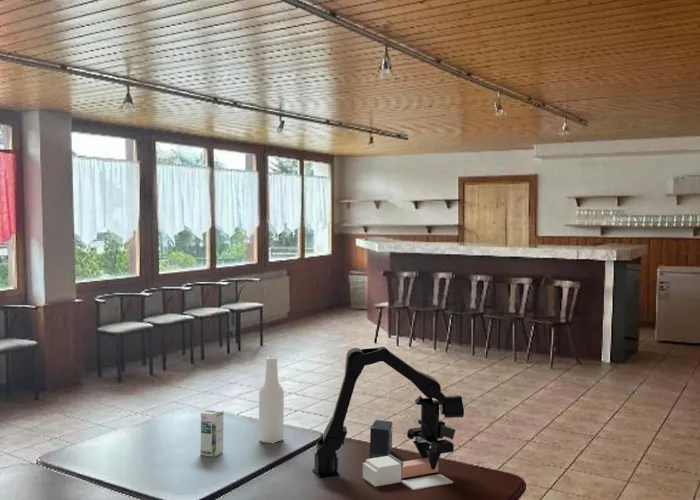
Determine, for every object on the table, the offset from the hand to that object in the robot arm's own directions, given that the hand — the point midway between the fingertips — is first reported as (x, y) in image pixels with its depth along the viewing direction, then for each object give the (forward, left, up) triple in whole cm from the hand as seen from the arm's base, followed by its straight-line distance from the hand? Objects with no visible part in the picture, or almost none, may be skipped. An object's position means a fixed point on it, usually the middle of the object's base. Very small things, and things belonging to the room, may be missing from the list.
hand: (429, 466), depth 209 cm
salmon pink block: (-5, 0, -1) cm, 5 cm away
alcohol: (-36, +50, -2) cm, 61 cm away
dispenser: (-17, 0, -2) cm, 17 cm away
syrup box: (-59, +44, -2) cm, 73 cm away
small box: (-7, +20, -2) cm, 21 cm away
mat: (-6, -7, -2) cm, 9 cm away
